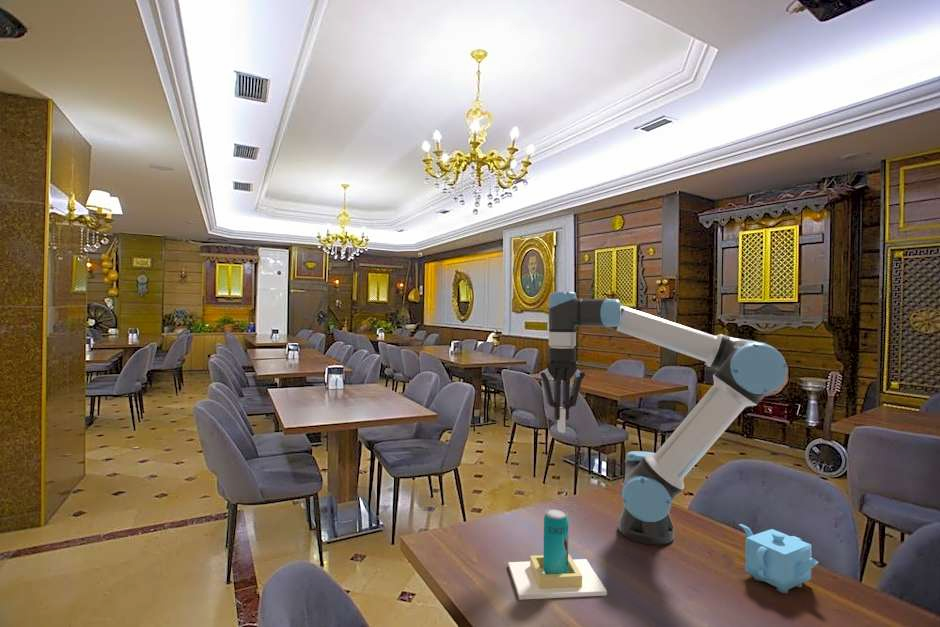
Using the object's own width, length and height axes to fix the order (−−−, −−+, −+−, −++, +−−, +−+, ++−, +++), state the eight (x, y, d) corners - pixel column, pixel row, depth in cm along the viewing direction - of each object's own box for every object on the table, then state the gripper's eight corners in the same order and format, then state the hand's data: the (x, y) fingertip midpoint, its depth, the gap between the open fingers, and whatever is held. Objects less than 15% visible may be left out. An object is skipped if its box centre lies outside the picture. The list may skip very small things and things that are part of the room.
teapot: (796, 609, 104) (797, 557, 104) (719, 569, 120) (720, 524, 120) (835, 590, 111) (836, 541, 111) (758, 555, 127) (759, 512, 127)
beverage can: (567, 584, 111) (568, 519, 111) (542, 580, 112) (543, 516, 112) (567, 570, 117) (568, 509, 117) (543, 568, 118) (544, 507, 118)
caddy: (586, 562, 122) (586, 549, 122) (606, 595, 108) (607, 579, 108) (508, 566, 120) (508, 552, 120) (519, 599, 107) (519, 583, 107)
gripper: (580, 346, 139) (579, 427, 139) (536, 346, 138) (535, 428, 138) (589, 348, 132) (588, 434, 132) (542, 348, 130) (541, 435, 130)
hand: (561, 431), depth 135 cm, fingers closed
